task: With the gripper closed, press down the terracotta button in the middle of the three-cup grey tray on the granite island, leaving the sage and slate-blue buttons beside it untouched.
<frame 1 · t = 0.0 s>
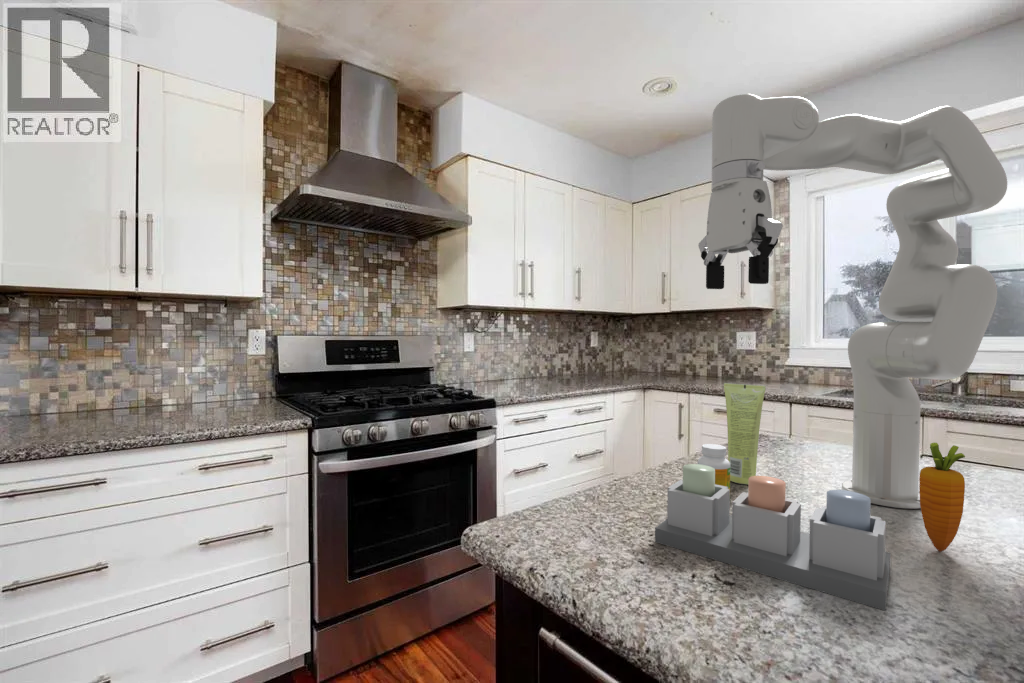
hand: (735, 286, 78), 37 cm above the countertop, tool pointing down, fingers open, 9 cm apart
carrot: (939, 552, 66), on the countertop
three-cup grey tray: (765, 554, 65), on the countertop
tube: (742, 482, 96), on the countertop
button terracotta: (766, 499, 65), point 7 cm above the countertop, slide at 0.0 cm
button sage: (698, 485, 71), point 8 cm above the countertop, slide at 0.0 cm
button slate: (847, 516, 59), point 8 cm above the countertop, slide at 0.0 cm
supplement bottle: (713, 502, 85), on the countertop
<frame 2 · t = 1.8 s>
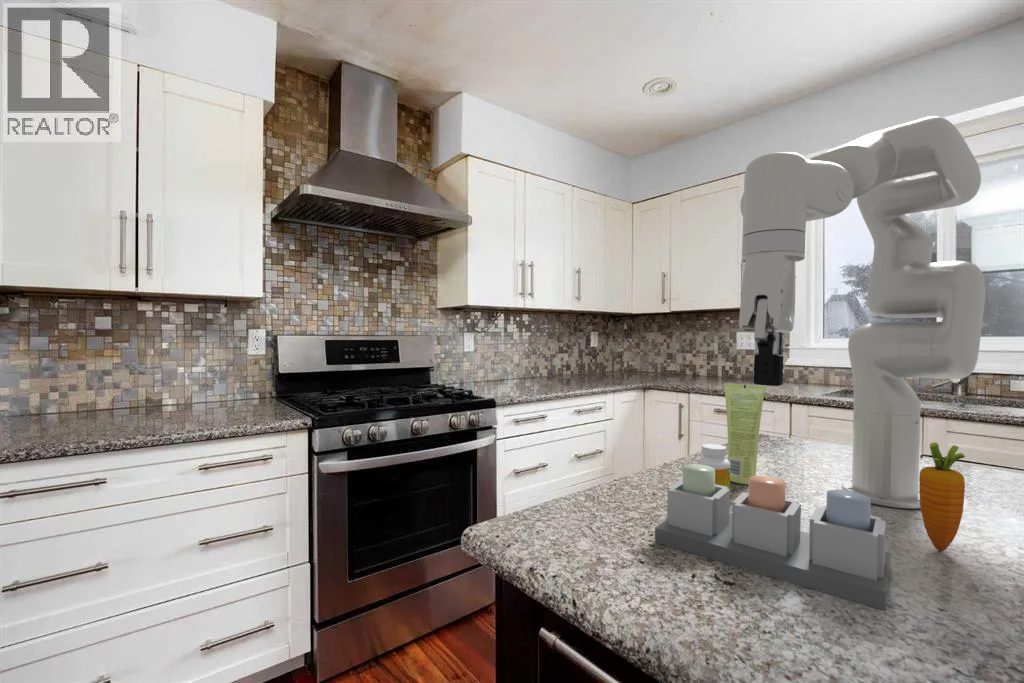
hand: (767, 384, 65), 23 cm above the countertop, tool pointing down, fingers closed
nothing on the countertop moved.
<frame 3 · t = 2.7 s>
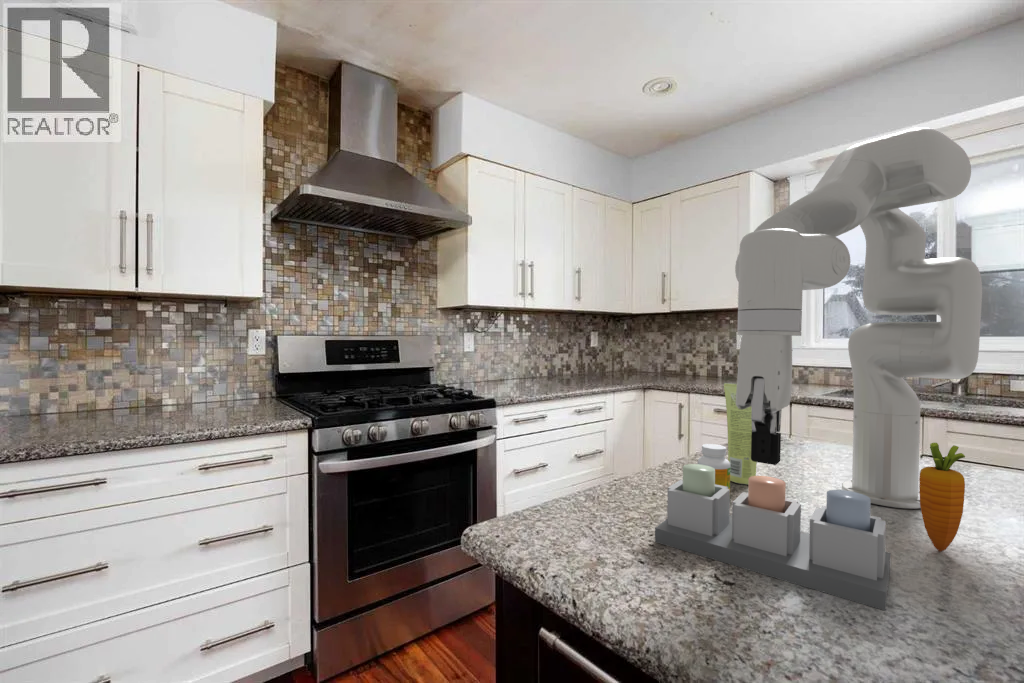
hand: (765, 461, 64), 13 cm above the countertop, tool pointing down, fingers closed
nothing on the countertop moved.
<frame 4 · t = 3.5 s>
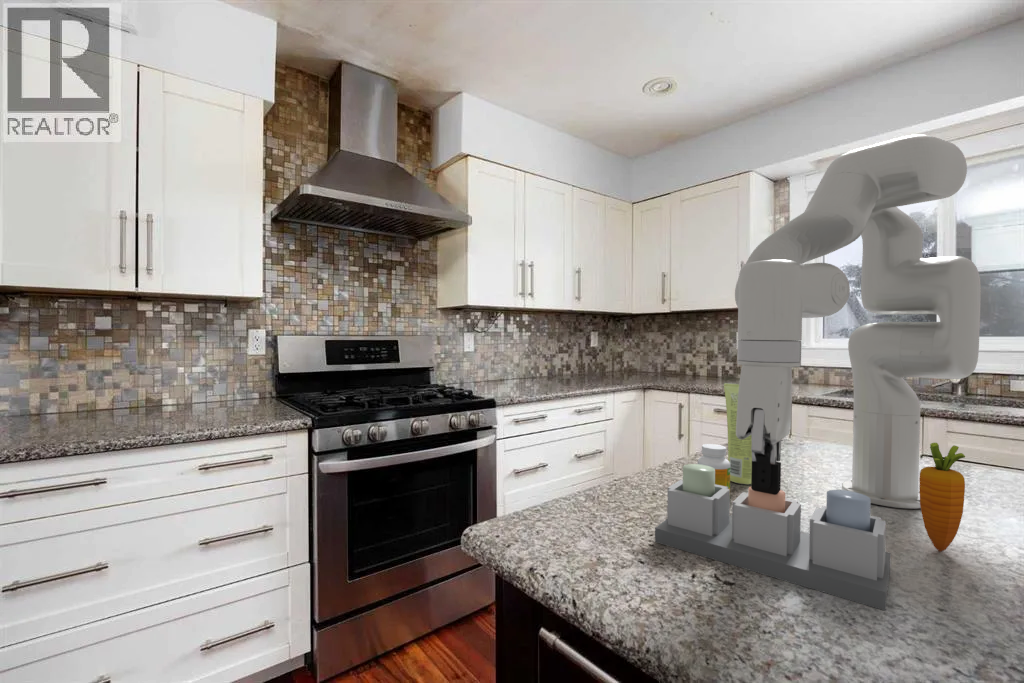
hand: (765, 490, 65), 9 cm above the countertop, tool pointing down, fingers closed
button terracotta: (766, 509, 65), point 6 cm above the countertop, slide at 1.4 cm, touching gripper
everything else where it was.
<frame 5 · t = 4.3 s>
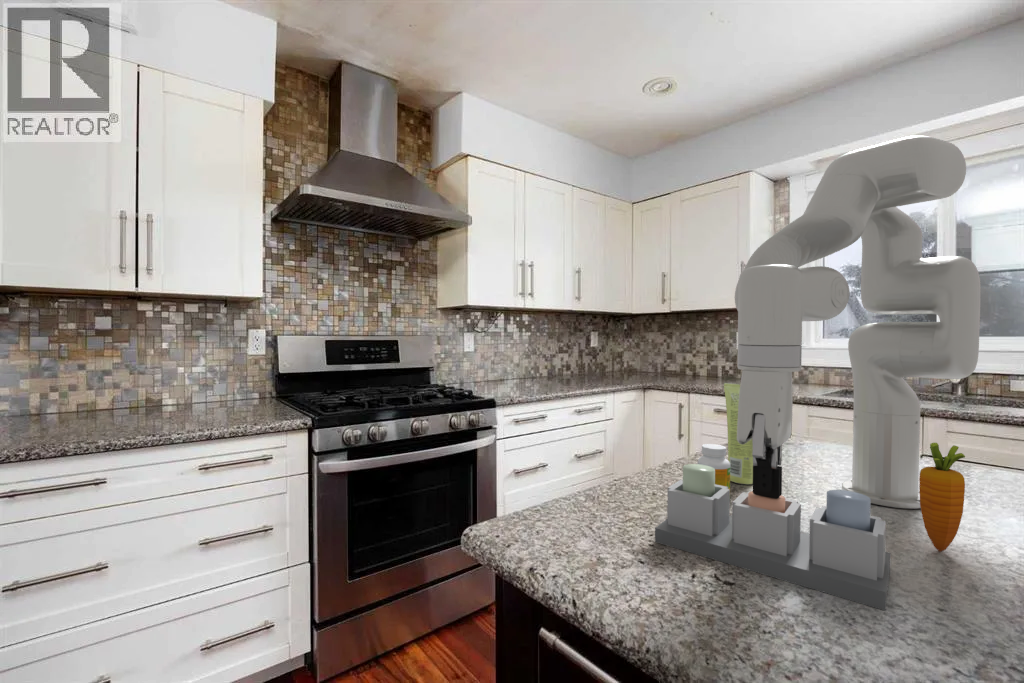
hand: (767, 494, 65), 8 cm above the countertop, tool pointing down, fingers closed
button terracotta: (766, 514, 65), point 5 cm above the countertop, slide at 2.1 cm
everything else where it was.
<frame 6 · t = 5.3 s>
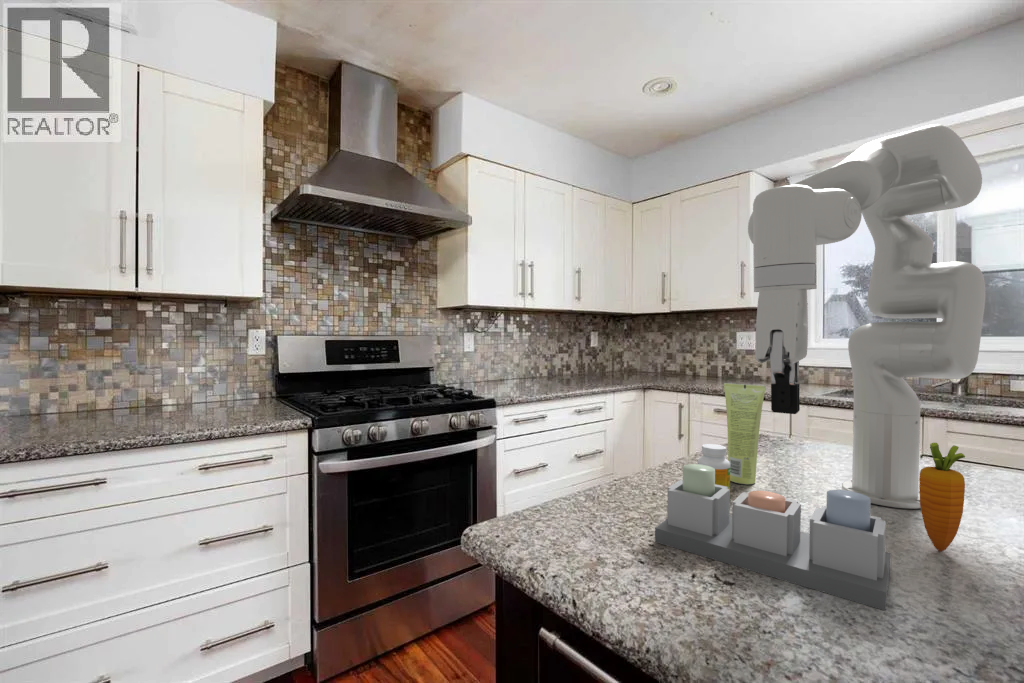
hand: (785, 411, 67), 19 cm above the countertop, tool pointing down, fingers closed
nothing on the countertop moved.
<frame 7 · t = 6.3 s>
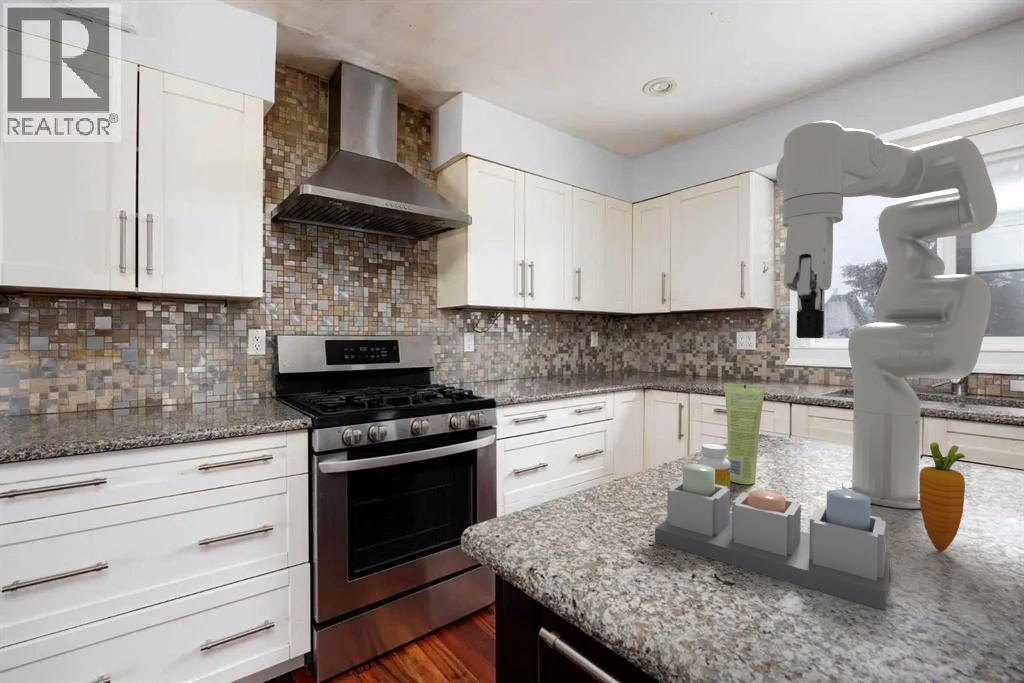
hand: (809, 337, 71), 29 cm above the countertop, tool pointing down, fingers closed
nothing on the countertop moved.
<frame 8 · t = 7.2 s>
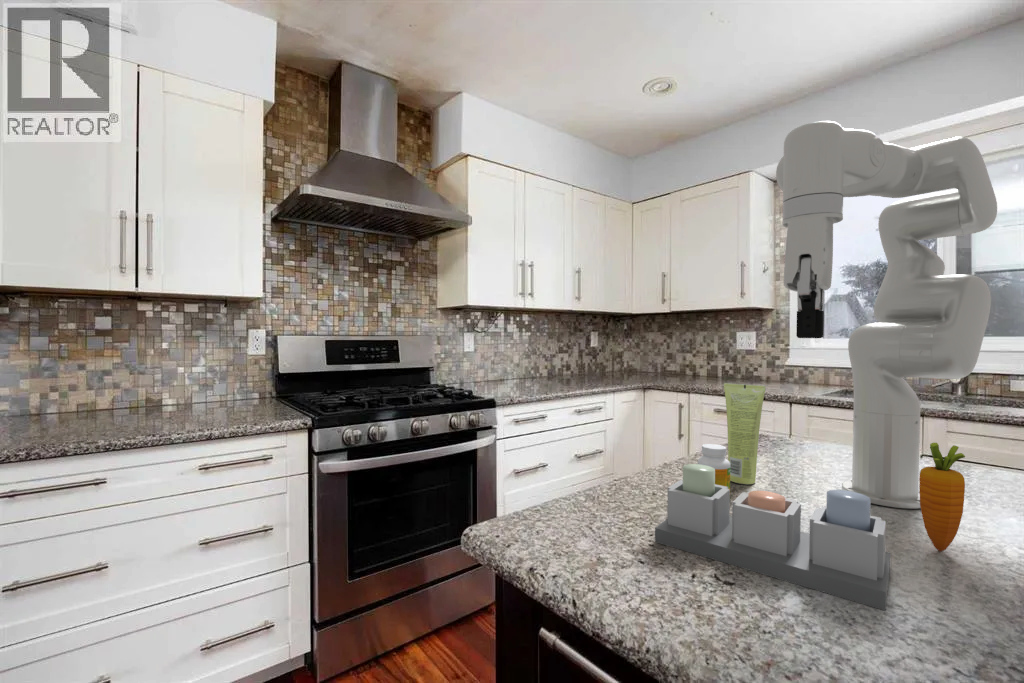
hand: (809, 337, 71), 29 cm above the countertop, tool pointing down, fingers closed
nothing on the countertop moved.
at the end: button terracotta slide at 2.1 cm; button sage slide at 0.0 cm; button slate slide at 0.0 cm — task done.
